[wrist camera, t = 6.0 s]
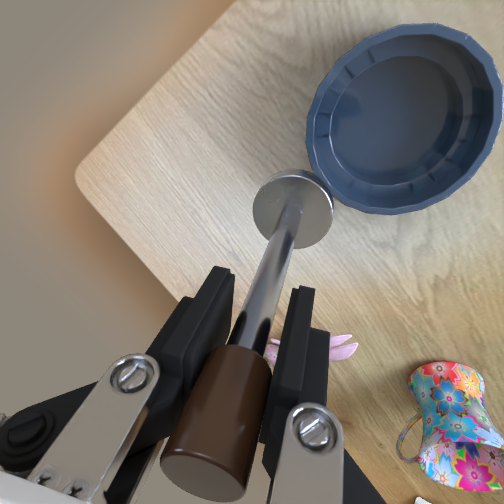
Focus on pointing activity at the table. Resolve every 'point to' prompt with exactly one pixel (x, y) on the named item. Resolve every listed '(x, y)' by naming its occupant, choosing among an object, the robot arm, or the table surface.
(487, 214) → the table surface
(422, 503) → the pincushion
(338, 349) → the rabbit figure
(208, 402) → the wood-topped metal stand
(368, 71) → the bowl
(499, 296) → the table surface
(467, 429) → the mug
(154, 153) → the table surface
